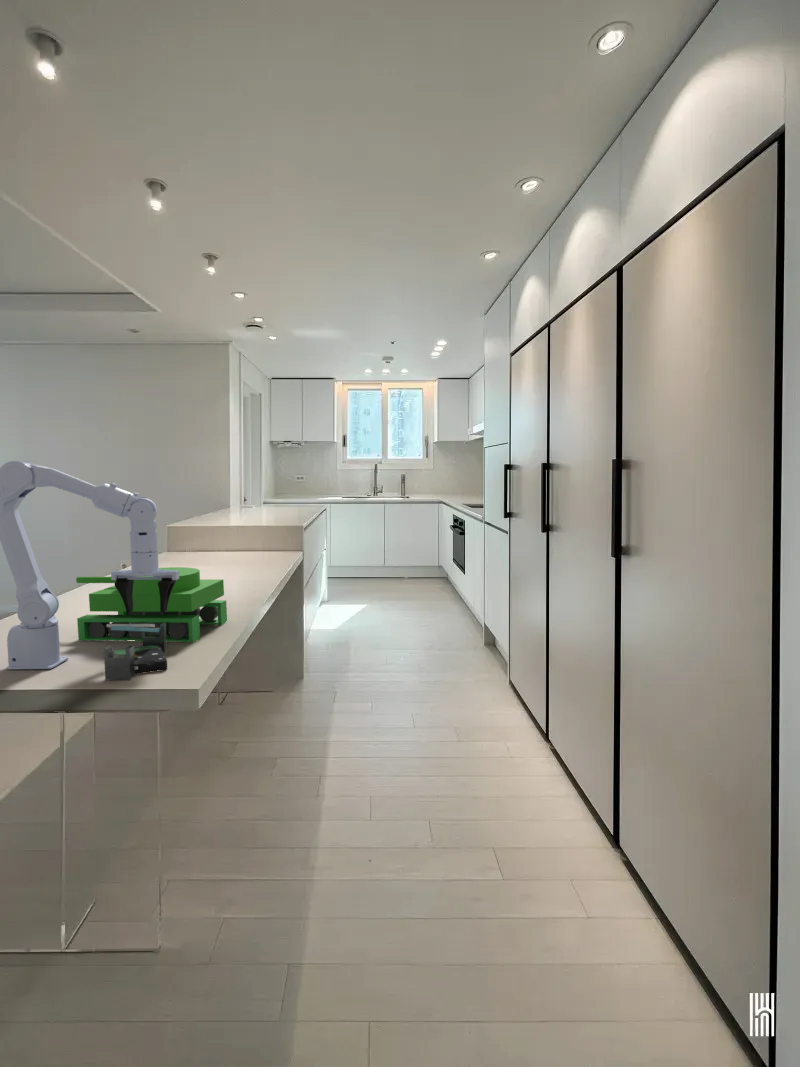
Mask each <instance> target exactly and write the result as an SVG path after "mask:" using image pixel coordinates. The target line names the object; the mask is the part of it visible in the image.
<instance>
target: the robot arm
mask: <svg viewBox="0 0 800 1067" xmlns="http://www.w3.org/2000/svg"><path fill="white" fill-rule="evenodd" d="M44 487H54V488H57V489H59V490H62V491H66V492H68V493H72V494H74V495H78V496H80V497H83V498H87V499H89V500H91V502H92V504H93V505H94V508H96V509H99V510H102V511H104V512H107V513H110V514H113V515H116V516H118V517H120V518H123V519H125V518H126V517H128V519H129V521H130V532H129V536H130V537H129V540H130V541H129V542H130V566H131V569H129V570H112V571H111V572H110V575H111V576H110V577H111V580H116V583H113V584H114V586H115V587H116V589H117V590H118V592H119V593H120V595H121V597H122V599H123V602H124V605H125V608H126V612H131V611H133V583H134V580H162V581H159V582H158V587H159V592H160V610H161V612H165V611H167V605H168V600H169V597H170V594H171V591H172V589H173V587H174V584H175V582H176V580H177V579H179V570H159V568H160V566H159V543H158V530H157V526H158V524H157V520H156V517H157V514H158V508H157V507H158V506H157V505H156V503H155V502H154V501H153V500H151V499H150V498H148V497H146V496H140V497H139V495H140V493H138V492H133V493H132V492H130V491H129V490H125V489H122V488H119V487H118V484H117V483H114V482H111V483H110V484H109V483H106V482H105V483H101V484H99V485H94V484H92V483H90V482H87V481H85V480H83V479H81V478H78V477H76V476H73V475H70V474H68V473H65V472H63V471H60V470H59V469H55V468H53V467H49V466H45V465H40V464H35V463H33V462H29V461H18V460H11V461H7V462H5V463H4V464H2V465H1V466H0V544H1V547H2V550H3V552H4V555H5V558H6V560H7V564H8V566H9V569H10V571H11V574H12V576H13V580H14V582H15V585H16V589H15V590H16V593H15V594H16V595H15V596H16V597H15V598H16V601H17V605H18V606H17V611H16V612H17V617H18V620H19V621H20V623H19V624H15V625H13V626H12V627H11V628H10V629H9V630H8V633H7V638H6V639H7V640H6V642H7V643H6V645H7V662H8V665H7V666H6V670H51V669H53V668H55V667H57V666H58V665H59V666H60V664H62V663H64V662H66V661H67V660H68V659H69V657H68V656H61V654H60V652H61V651H60V650H61V649H60V632H59V628H60V627H59V619H58V618H57V617H56V616H55V614H56V613H57V612H58V609H59V607H60V602H59V599H58V597H57V596H56V594H54V592H52V591H51V589H50V586H49V584H48V583H47V582H46V580H45V579H44V578H43V576H42V574H41V571H40V568H39V566H38V563H37V560H36V557H35V553H34V552H33V549H32V544H31V543H30V541H29V537H28V535H27V532H26V529H25V526H24V524H23V521H22V518H21V515H20V513H19V512H20V511H19V506H20V505H21V503H22V502H23V501H24V499H25V498H26V496H27V495H28V494H30V493H31V492H33V491H34V490H35V489H37V488H44ZM146 576H153V577H146Z"/></svg>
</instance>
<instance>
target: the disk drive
mask: <svg viewBox="0 0 800 1067" xmlns="http://www.w3.org/2000/svg"><path fill="white" fill-rule="evenodd" d="M126 648H127V647H126ZM126 648H114V649H113V654H126V650H125V649H126ZM134 669H135V675H138V674H137V673H140V674H144V673H143V672H148V673H151V672H150V671H155V672H158V671H157V670H163V671H167V670H168V659H167V657H166V655H165V652H163V651H162V649H161V647H160V645H159V644H156V645H146V646H143V645H139V646H134ZM166 669H167V670H166Z"/></svg>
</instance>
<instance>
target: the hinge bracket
mask: <svg viewBox="0 0 800 1067" xmlns="http://www.w3.org/2000/svg"><path fill="white" fill-rule="evenodd" d="M143 624H147V623H143ZM144 628H147V627H144ZM160 628H161V635H150V634H148V633H147V632H142V645H141V646H146V645H156V644H159V645H160V647H161V649H162V651H163V653H166V652H167V651H166V650H168V648H167V643H168V642H166V636H168V635H167V632H166V623H162V624H160ZM165 651H166V652H165Z"/></svg>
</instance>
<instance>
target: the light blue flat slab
mask: <svg viewBox="0 0 800 1067" xmlns="http://www.w3.org/2000/svg"><path fill="white" fill-rule="evenodd" d="M107 627H111V630H116V631H133V632H147V633H161V628H144V627H155V624H131V623H130V624H111V623H110V624H107Z"/></svg>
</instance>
